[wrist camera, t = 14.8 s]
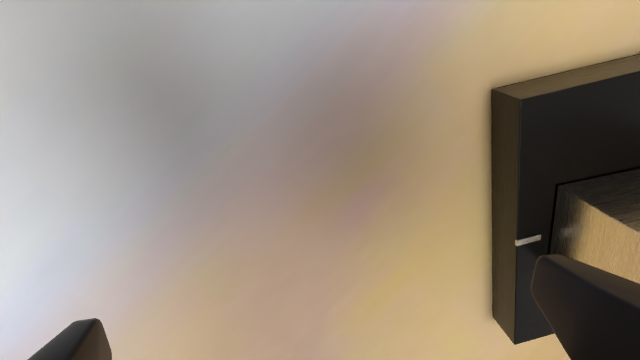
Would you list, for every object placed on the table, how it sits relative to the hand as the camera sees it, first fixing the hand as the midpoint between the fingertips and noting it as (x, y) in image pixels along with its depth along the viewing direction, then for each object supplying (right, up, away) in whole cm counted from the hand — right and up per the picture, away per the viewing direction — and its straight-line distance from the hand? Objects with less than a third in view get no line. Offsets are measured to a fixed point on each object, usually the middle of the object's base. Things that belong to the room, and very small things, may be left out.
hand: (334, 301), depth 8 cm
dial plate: (+17, +2, +17) cm, 24 cm away
